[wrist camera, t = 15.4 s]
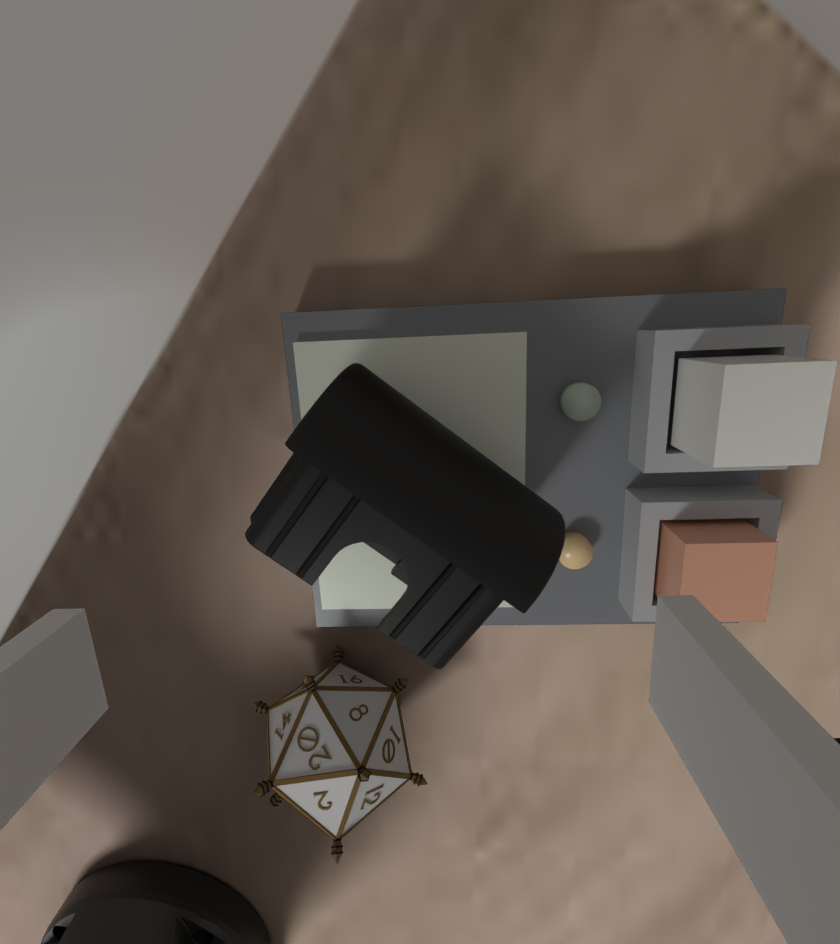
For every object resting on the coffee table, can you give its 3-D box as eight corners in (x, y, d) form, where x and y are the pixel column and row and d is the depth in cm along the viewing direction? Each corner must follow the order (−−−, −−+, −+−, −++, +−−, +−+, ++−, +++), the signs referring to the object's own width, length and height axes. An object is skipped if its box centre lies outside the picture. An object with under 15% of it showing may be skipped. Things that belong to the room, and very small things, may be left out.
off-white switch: (670, 444, 21) (713, 467, 18) (678, 358, 20) (725, 365, 17) (758, 441, 21) (818, 464, 17) (771, 354, 20) (837, 360, 16)
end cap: (548, 488, 23) (587, 551, 17) (453, 597, 25) (455, 693, 18) (368, 353, 22) (335, 365, 15) (282, 479, 24) (219, 537, 17)
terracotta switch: (645, 581, 24) (677, 622, 21) (651, 512, 23) (685, 544, 20) (721, 580, 24) (765, 621, 21) (730, 510, 23) (778, 542, 20)
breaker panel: (325, 606, 28) (306, 650, 24) (294, 314, 24) (265, 311, 20) (717, 601, 27) (762, 647, 23) (757, 291, 23) (821, 284, 19)
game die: (332, 653, 33) (184, 716, 26) (416, 607, 29) (266, 667, 21) (386, 793, 31) (239, 909, 23) (487, 768, 26) (347, 904, 18)
